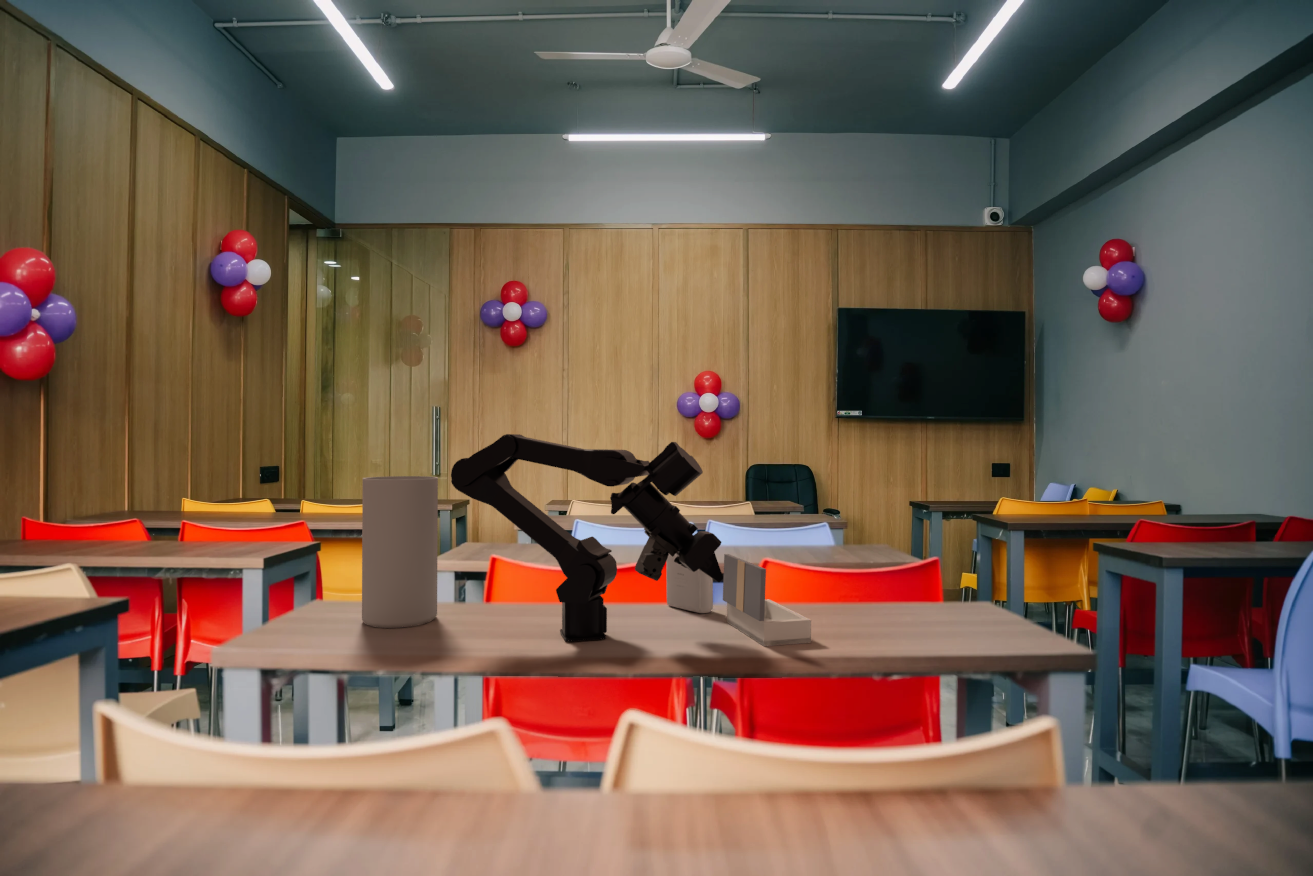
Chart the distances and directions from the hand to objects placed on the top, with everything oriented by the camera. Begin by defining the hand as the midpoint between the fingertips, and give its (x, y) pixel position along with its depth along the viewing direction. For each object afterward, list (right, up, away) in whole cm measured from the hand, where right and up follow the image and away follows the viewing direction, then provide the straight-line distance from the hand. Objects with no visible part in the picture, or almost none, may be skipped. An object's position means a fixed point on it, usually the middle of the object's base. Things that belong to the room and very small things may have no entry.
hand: (720, 580), depth 123 cm
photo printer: (-4, -9, +20) cm, 23 cm away
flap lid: (+4, -1, +2) cm, 5 cm away
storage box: (+8, -9, +3) cm, 12 cm away
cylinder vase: (-55, -9, +10) cm, 57 cm away
